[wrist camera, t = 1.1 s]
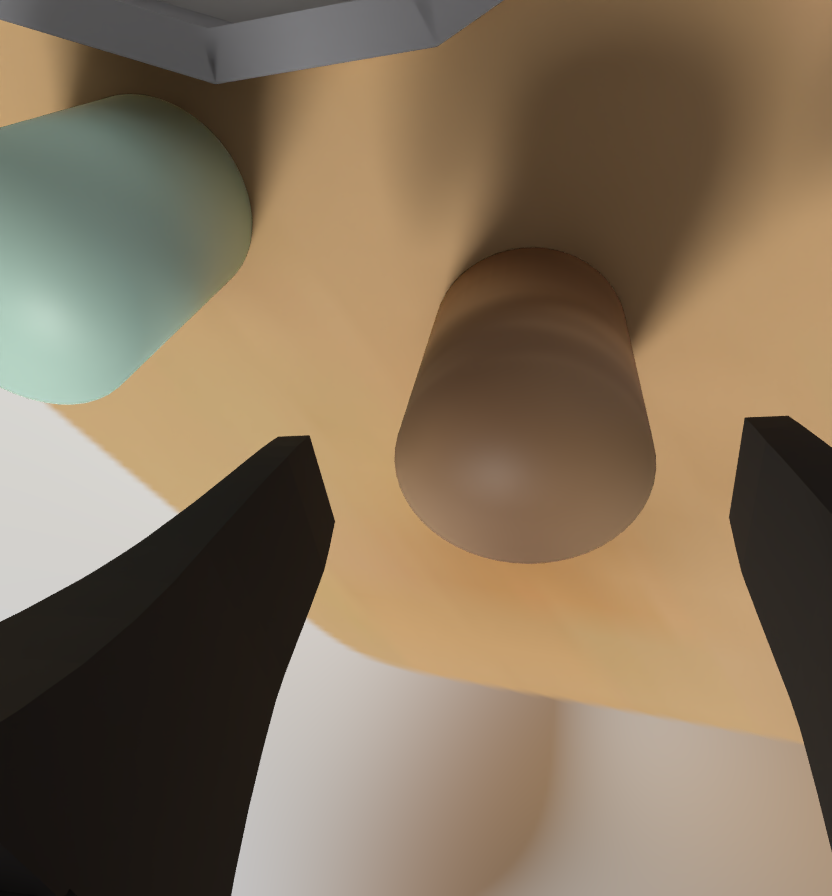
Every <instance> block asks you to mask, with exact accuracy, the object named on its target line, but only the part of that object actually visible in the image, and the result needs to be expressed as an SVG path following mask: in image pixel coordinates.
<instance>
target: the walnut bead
mask: <svg viewBox="0 0 832 896" xmlns="http://www.w3.org/2000/svg"><path fill="white" fill-rule="evenodd" d="M395 468H396V475H397V479H398V482H399V486H400V488H401V491H402V493H403V495H404V497H405V499H406V501H407V502H408V504H409V506H410V507H411V509H412V510H413V511H414V513H415V514H416V515H417V516H418V517H419V519H420V520H421V521H422V522H423V523H424V524H425V525H426V526H427V527H428V528H430V529H431V530H432V531H433V532H434V533H436V534H437V535H438V536H440V537H441V538H443V539H444V540H446V541H448V542H449V543H451V544H453V545H454V546H456V547H458V548H461V549H463V550H465V551H467V552H470V553H472V554H475V555H478V556H481V557H485V558H489V559H493V560H497V561H503V562H510V563H525V564H532V563H547V562H555V561H561V560H565V559H569V558H573V557H576V556H579V555H582V554H585V553H588V552H590V551H592V550H594V549H597V548H599V547H601V546H602V545H604V544H606V543H607V542H609V541H611V540H612V539H614V538H615V537H616V536H618V535H619V534H620V533H621V532H623V531H624V530H625V529H626V528H627V527H628V526H629V525H630V524H631V523H632V522H633V521H634V520H635V519H636V517H637V516H638V515H639V513H640V512H641V511H642V509H643V508H644V506H645V504H646V502H647V500H648V498H649V496H650V493H651V490H652V487H653V484H654V479H655V473H656V454H655V449H654V443H653V439H652V434H651V430H650V425H649V421H648V417H647V412H646V408H645V403H644V399H643V395H642V390H641V386H640V381H639V377H638V372H637V368H636V364H635V359H634V355H633V350H632V346H631V342H630V337H629V333H628V328H627V324H626V320H625V315H624V311H623V308H622V305H621V303H620V300H619V298H618V296H617V294H616V293H615V291H614V289H613V288H612V286H611V285H610V284H609V282H608V281H607V280H606V279H605V278H604V277H603V276H602V275H601V274H600V273H599V272H598V271H597V270H596V269H594V268H593V267H592V266H590V265H589V264H588V263H586V262H584V261H582V260H581V259H579V258H577V257H575V256H572V255H570V254H567V253H564V252H561V251H557V250H552V249H546V248H536V247H535V248H519V249H512V250H507V251H504V252H500V253H497V254H494V255H492V256H490V257H487V258H485V259H483V260H481V261H480V262H478V263H476V264H475V265H473V266H472V267H470V268H469V269H468V270H467V271H465V272H464V273H463V274H462V275H461V276H460V277H459V278H458V279H457V280H456V281H455V282H454V283H453V285H452V286H451V287H450V289H449V290H448V291H447V293H446V295H445V297H444V299H443V300H442V302H441V305H440V307H439V310H438V313H437V316H436V319H435V322H434V325H433V328H432V331H431V334H430V337H429V341H428V344H427V347H426V350H425V353H424V356H423V359H422V362H421V365H420V368H419V371H418V375H417V378H416V381H415V384H414V387H413V390H412V393H411V396H410V399H409V402H408V406H407V409H406V412H405V415H404V418H403V421H402V424H401V427H400V430H399V433H398V437H397V442H396V447H395Z"/></svg>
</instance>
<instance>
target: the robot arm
mask: <svg viewBox="0 0 832 896" xmlns="http://www.w3.org/2000/svg"><path fill="white" fill-rule="evenodd" d="M729 519H730V524H731V528H732V533H733V538H734V542H735V547H736V551H737V555H738V559H739V563H740V567H741V572H742V575H743V577H744V580H745V583H746V585H747V588H748V591H749V593H750V596H751V599H752V601H753V604H754V607H755V609H756V612H757V614H758V617H759V620H760V622H761V625H762V627H763V630H764V633H765V635H766V638H767V640H768V643H769V645H770V648H771V651H772V653H773V656H774V658H775V661H776V664H777V666H778V669H779V671H780V674H781V676H782V679H783V682H784V684H785V687H786V689H787V692H788V695H789V697H790V700H791V703H792V706H793V709H794V712H795V715H796V718H797V721H798V724H799V727H800V730H801V734H802V737H803V741H804V745H805V748H806V752H807V756H808V760H809V764H810V767H811V771H812V775H813V778H814V782H815V786H816V790H817V793H818V798H819V802H820V806H821V809H822V813H823V818H824V821H825V826H826V830H827V834H828V838H829V842H830V846H831V850H832V447H830V446H829V445H828V444H826V443H825V442H824V441H822V440H821V439H820V438H818V437H817V436H816V435H814V434H813V433H812V432H810V431H809V430H808V429H806V428H805V427H803V426H802V425H801V424H799V423H798V422H796V421H795V420H793V419H792V418H791V417H789V416H772V417H748V418H745V420H744V426H743V432H742V439H741V445H740V451H739V458H738V464H737V470H736V477H735V483H734V489H733V496H732V502H731V508H730V515H729ZM334 524H335V520H334V517H333V513H332V510H331V506H330V503H329V500H328V496H327V493H326V490H325V486H324V483H323V479H322V476H321V473H320V469H319V466H318V463H317V459H316V456H315V452H314V449H313V446H312V442H311V439H310V436H285V437H277V438H276V439H274V440H273V441H271V442H270V443H268V444H267V445H265V446H264V447H263V448H261V449H260V450H259V451H258V452H256V453H255V454H254V455H253V456H251V457H250V458H249V459H247V460H246V461H245V462H244V463H243V464H241V465H240V466H239V467H238V468H236V469H235V470H234V471H233V472H231V473H230V474H229V475H228V476H226V477H225V478H224V479H223V480H221V481H220V482H219V483H218V484H216V485H215V486H214V487H213V488H211V489H210V490H209V491H208V492H206V493H205V494H204V495H203V496H201V497H200V498H199V499H198V500H196V501H195V502H194V503H193V504H191V505H190V506H189V507H187V508H186V509H184V510H183V511H182V512H180V513H179V514H178V515H176V516H175V517H174V518H173V519H171V520H170V521H168V522H167V523H166V524H164V525H163V526H161V527H160V528H159V529H157V530H156V531H155V532H153V533H152V534H151V535H149V536H148V537H147V538H145V539H144V540H142V541H141V542H139V543H138V544H136V545H135V546H133V547H132V548H130V549H129V550H127V551H126V552H124V553H123V554H121V555H120V556H118V557H116V558H115V559H113V560H112V561H110V562H108V563H107V564H106V565H104V566H102V567H100V568H99V569H97V570H96V571H94V572H92V573H91V574H89V575H87V576H86V577H84V578H82V579H81V580H79V581H77V582H75V583H73V584H71V585H69V586H68V587H66V588H64V589H62V590H60V591H59V592H57V593H55V594H53V595H51V596H49V597H47V598H46V599H44V600H42V601H40V602H38V603H36V604H34V605H33V606H31V607H29V608H27V609H25V610H23V611H21V612H19V613H17V614H15V615H13V616H11V617H9V618H7V619H5V620H3V621H1V622H0V896H231V893H232V887H233V882H234V876H235V872H236V867H237V862H238V857H239V852H240V847H241V843H242V838H243V833H244V828H245V824H246V819H247V814H248V809H249V805H250V801H251V797H252V793H253V788H254V784H255V780H256V776H257V772H258V767H259V763H260V759H261V755H262V751H263V747H264V743H265V739H266V735H267V732H268V728H269V724H270V721H271V717H272V713H273V709H274V705H275V702H276V699H277V696H278V693H279V690H280V687H281V684H282V681H283V678H284V675H285V672H286V669H287V667H288V664H289V662H290V659H291V657H292V654H293V651H294V649H295V646H296V643H297V641H298V638H299V636H300V633H301V630H302V628H303V625H304V623H305V620H306V617H307V615H308V612H309V610H310V607H311V604H312V602H313V599H314V596H315V594H316V591H317V588H318V585H319V583H320V580H321V577H322V574H323V572H324V568H325V564H326V560H327V556H328V552H329V548H330V543H331V538H332V533H333V528H334Z"/></svg>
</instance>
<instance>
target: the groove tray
mask: <svg viewBox="0 0 832 896" xmlns="http://www.w3.org/2000/svg"><path fill="white" fill-rule="evenodd" d="M502 1H504V0H0V20H3V21H7V22H10V23H13V24H17V25H20V26H23V27H27V28H30V29H33V30H37V31H40V32H43V33H47V34H50V35H53V36H57V37H60V38H63V39H67V40H70V41H73V42H77V43H80V44H83V45H87V46H90V47H93V48H97V49H100V50H103V51H107V52H110V53H113V54H116V55H120V56H123V57H126V58H130V59H133V60H136V61H140V62H143V63H146V64H150V65H153V66H156V67H160V68H163V69H166V70H170V71H173V72H176V73H180V74H183V75H186V76H190V77H193V78H196V79H200V80H203V81H206V82H210V83H213V84H220V83H226V82H232V81H238V80H244V79H249V78H255V77H261V76H267V75H273V74H279V73H285V72H291V71H297V70H303V69H308V68H314V67H320V66H326V65H332V64H338V63H344V62H350V61H356V60H362V59H367V58H373V57H379V56H385V55H391V54H397V53H403V52H409V51H415V50H421V49H426V48H432V47H437V46H439V45H440V44H442V43H443V42H445V41H446V40H448V39H449V38H451V37H452V36H453V35H455V34H456V33H458V32H459V31H461V30H462V29H463V28H465V27H466V26H468V25H469V24H471V23H472V22H474V21H475V20H476V19H478V18H479V17H481V16H482V15H484V14H485V13H486V12H488V11H489V10H491V9H492V8H494V7H495V6H496V5H498V4H499V3H501V2H502Z"/></svg>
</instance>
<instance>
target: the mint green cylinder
mask: <svg viewBox="0 0 832 896" xmlns="http://www.w3.org/2000/svg"><path fill="white" fill-rule="evenodd" d="M251 235H252V213H251V205H250V201H249V197H248V192H247V189H246V187H245V184H244V181H243V178H242V176H241V174H240V172H239V170H238V168H237V166H236V164H235V162H234V161H233V159H232V157H231V156H230V154H229V153H228V151H227V150H226V149H225V147H224V146H223V145H222V143H221V142H220V141H219V139H218V138H217V137H216V136H215V135H214V134H213V133H212V132H211V131H210V130H209V129H208V128H207V127H206V126H205V125H203V124H202V123H201V122H200V121H199V120H198V119H197V118H195V117H194V116H192V115H191V114H189V113H188V112H186V111H185V110H183V109H181V108H179V107H177V106H176V105H174V104H172V103H170V102H167V101H164V100H162V99H159V98H156V97H151V96H147V95H140V94H122V95H115V96H112V97H108V98H104V99H101V100H97V101H93V102H90V103H86V104H83V105H79V106H76V107H72V108H68V109H65V110H61V111H58V112H54V113H51V114H47V115H43V116H40V117H36V118H33V119H29V120H26V121H22V122H18V123H15V124H11V125H8V126H4V127H1V128H0V387H1V388H3V389H5V390H7V391H10V392H12V393H14V394H17V395H20V396H23V397H26V398H29V399H32V400H36V401H40V402H45V403H53V404H80V403H87V402H90V401H94V400H98V399H100V398H102V397H104V396H106V395H108V394H110V393H111V392H113V391H114V390H116V389H117V388H118V387H119V386H120V385H122V384H123V383H124V382H125V381H126V380H127V379H128V378H129V377H130V376H131V375H132V374H133V373H134V372H135V371H136V370H137V369H138V368H139V367H140V366H141V365H142V364H143V363H144V362H145V361H146V360H147V359H149V358H150V357H151V356H152V355H153V354H154V353H155V352H156V351H157V350H158V349H159V348H160V347H161V346H162V345H163V344H164V343H165V342H166V341H167V340H168V339H169V338H170V337H171V336H172V335H173V334H174V333H176V332H177V331H178V330H179V329H180V328H181V327H182V326H183V325H184V324H185V323H186V322H187V321H188V320H189V319H190V318H191V317H192V316H193V315H194V314H195V313H196V312H197V311H198V310H199V309H200V308H201V307H202V306H204V305H205V304H206V303H207V302H208V301H209V300H210V299H211V298H212V297H213V296H214V295H215V294H216V293H217V292H218V291H219V290H220V289H221V288H222V287H223V286H224V285H225V284H226V283H227V282H228V281H229V280H230V279H231V278H232V277H233V276H234V275H235V274H236V273H237V272H238V270H239V269H240V267H241V266H242V264H243V262H244V260H245V258H246V256H247V253H248V250H249V246H250V242H251Z"/></svg>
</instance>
